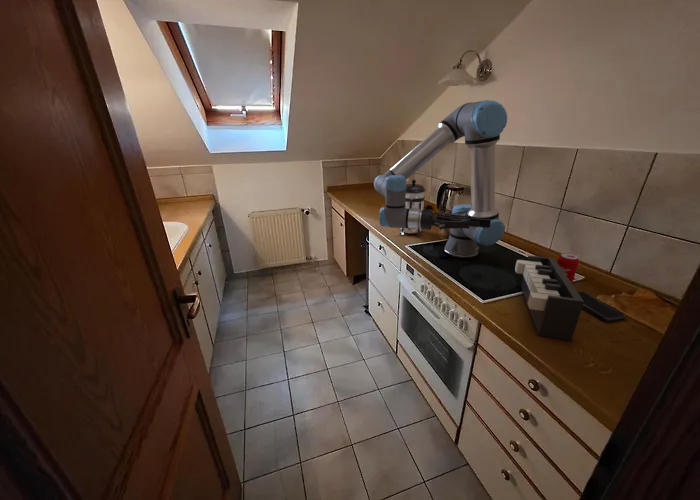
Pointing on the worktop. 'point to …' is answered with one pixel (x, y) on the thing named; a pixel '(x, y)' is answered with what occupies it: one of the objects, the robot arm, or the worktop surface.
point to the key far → (521, 264)
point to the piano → (552, 298)
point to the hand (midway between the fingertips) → (490, 223)
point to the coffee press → (414, 202)
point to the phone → (600, 308)
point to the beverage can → (568, 264)
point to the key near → (537, 301)
